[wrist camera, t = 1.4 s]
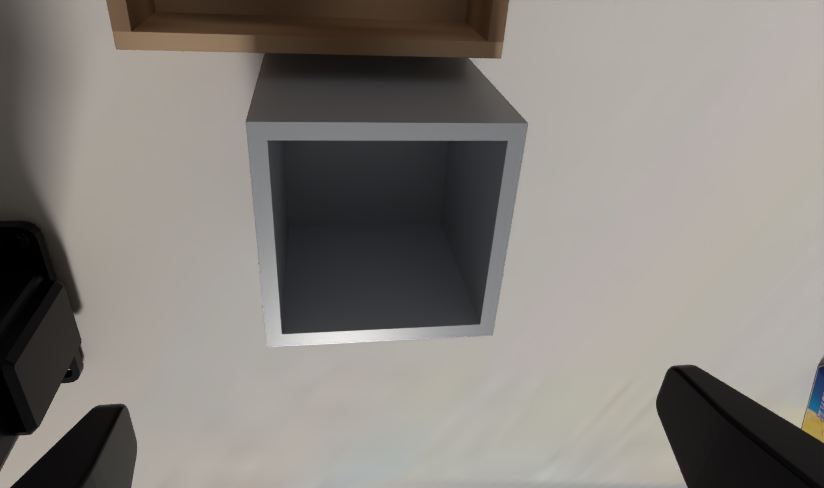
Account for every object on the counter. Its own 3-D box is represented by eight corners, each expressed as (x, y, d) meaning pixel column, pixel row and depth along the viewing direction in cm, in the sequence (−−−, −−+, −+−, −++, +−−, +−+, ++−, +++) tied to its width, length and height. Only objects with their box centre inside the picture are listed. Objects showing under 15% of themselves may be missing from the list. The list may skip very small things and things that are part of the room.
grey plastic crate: (277, 230, 20) (266, 347, 15) (265, 51, 17) (245, 121, 12) (448, 226, 21) (492, 335, 16) (466, 56, 18) (528, 123, 13)
